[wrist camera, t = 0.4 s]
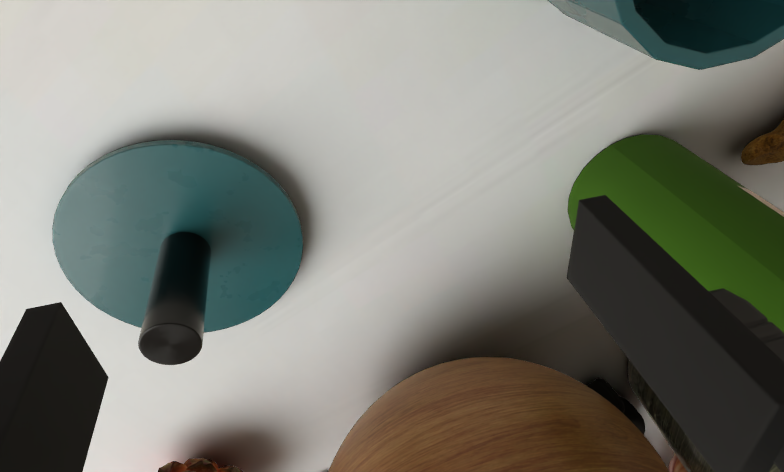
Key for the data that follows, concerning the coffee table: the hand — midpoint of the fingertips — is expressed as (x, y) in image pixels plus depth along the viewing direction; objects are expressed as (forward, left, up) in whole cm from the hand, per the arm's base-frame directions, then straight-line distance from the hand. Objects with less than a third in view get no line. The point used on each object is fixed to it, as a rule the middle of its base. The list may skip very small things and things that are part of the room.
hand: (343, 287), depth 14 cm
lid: (+8, -9, -17) cm, 21 cm away
